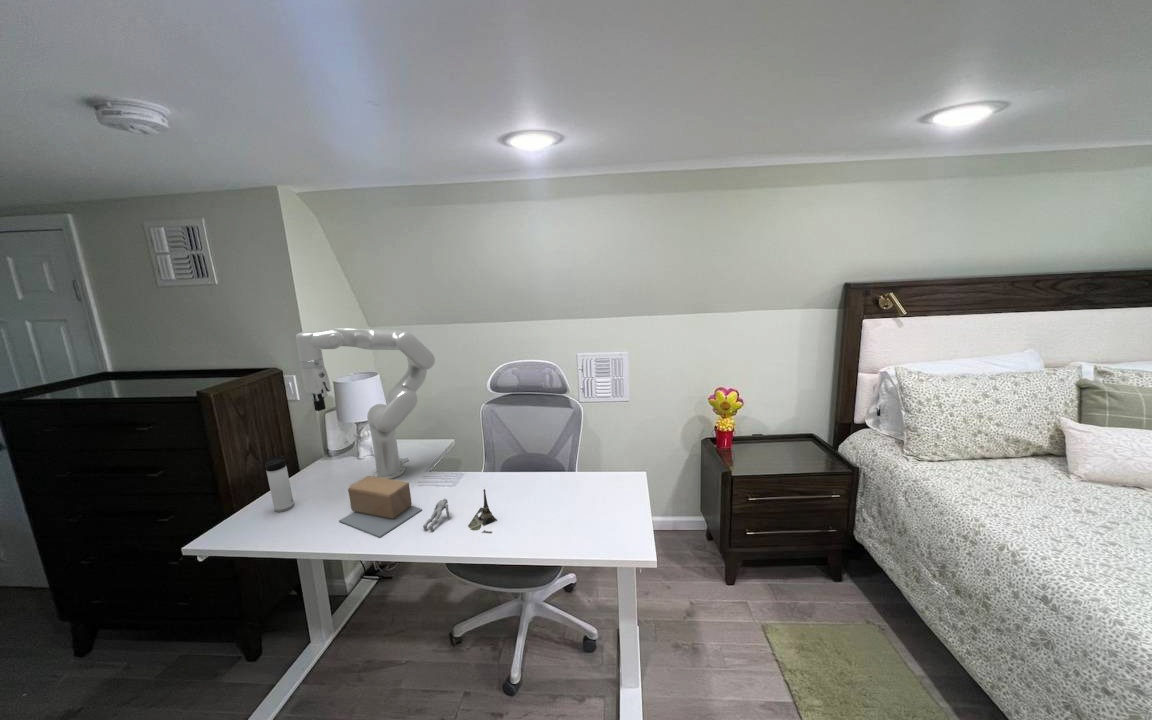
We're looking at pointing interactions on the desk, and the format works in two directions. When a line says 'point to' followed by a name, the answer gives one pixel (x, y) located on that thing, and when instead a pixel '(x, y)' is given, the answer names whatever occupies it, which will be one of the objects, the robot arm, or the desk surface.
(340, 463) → the desk surface
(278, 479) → the travel mug
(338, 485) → the desk surface
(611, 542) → the desk surface
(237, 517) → the desk surface
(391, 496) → the block
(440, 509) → the grey humanoid figure
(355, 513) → the mat
